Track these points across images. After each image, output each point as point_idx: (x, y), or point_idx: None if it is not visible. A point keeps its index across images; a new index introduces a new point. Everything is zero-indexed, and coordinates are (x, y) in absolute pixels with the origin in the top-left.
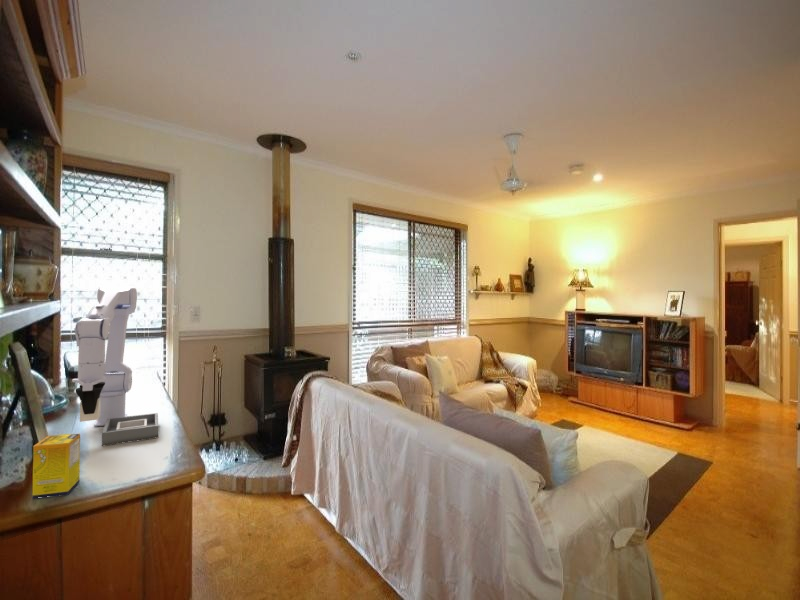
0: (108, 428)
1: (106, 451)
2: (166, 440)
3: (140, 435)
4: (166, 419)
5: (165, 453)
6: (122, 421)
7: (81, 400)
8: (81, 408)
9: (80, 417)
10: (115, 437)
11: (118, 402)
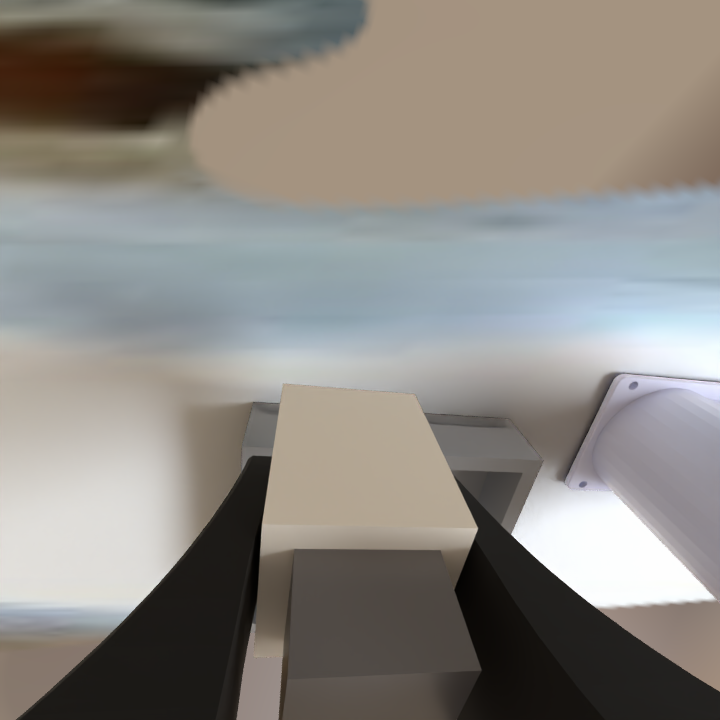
0: None
1: (149, 418)
2: None
3: None
4: None
5: (11, 590)
6: (494, 501)
7: (142, 602)
8: (272, 477)
9: (280, 409)
10: None
11: (681, 555)
